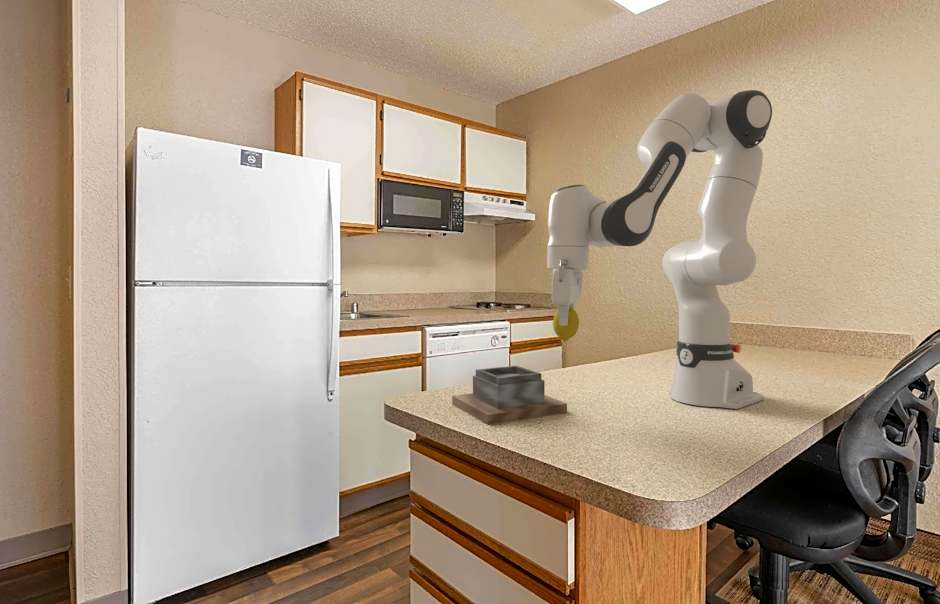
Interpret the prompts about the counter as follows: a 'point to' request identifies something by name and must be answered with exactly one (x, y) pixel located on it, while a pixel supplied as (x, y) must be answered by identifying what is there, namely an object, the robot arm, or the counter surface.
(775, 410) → the counter surface
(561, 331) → the lemon
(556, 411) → the plinth
